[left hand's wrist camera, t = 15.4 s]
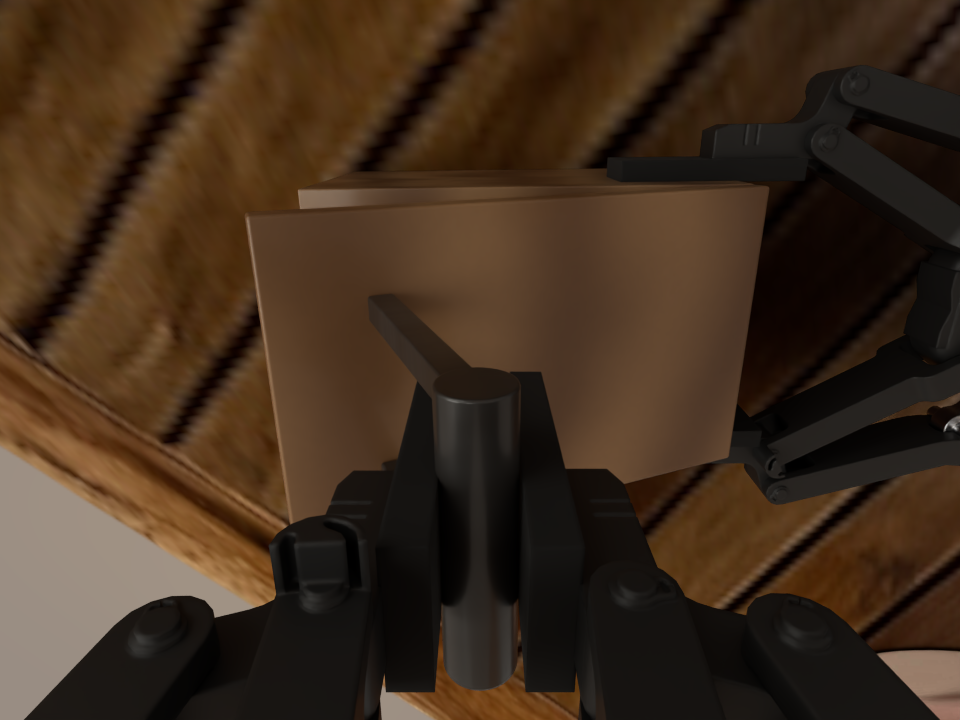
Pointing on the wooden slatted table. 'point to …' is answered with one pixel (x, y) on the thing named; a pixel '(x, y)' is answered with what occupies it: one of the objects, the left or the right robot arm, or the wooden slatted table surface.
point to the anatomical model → (930, 678)
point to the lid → (503, 356)
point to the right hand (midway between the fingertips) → (605, 307)
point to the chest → (470, 186)
